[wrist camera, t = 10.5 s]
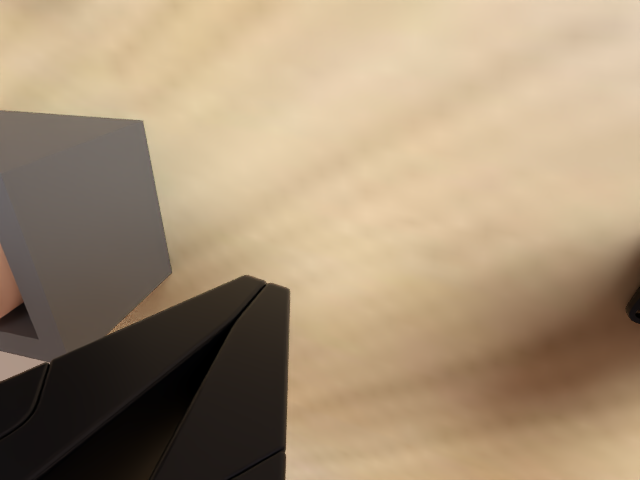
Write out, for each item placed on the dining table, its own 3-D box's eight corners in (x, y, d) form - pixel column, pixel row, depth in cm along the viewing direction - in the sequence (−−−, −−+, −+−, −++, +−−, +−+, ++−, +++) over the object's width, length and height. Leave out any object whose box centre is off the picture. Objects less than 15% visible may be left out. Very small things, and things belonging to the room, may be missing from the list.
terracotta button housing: (142, 120, 22) (0, 174, 15) (172, 272, 26) (72, 367, 19) (-1, 110, 24) (-183, 153, 17) (48, 252, 28) (-82, 331, 21)
